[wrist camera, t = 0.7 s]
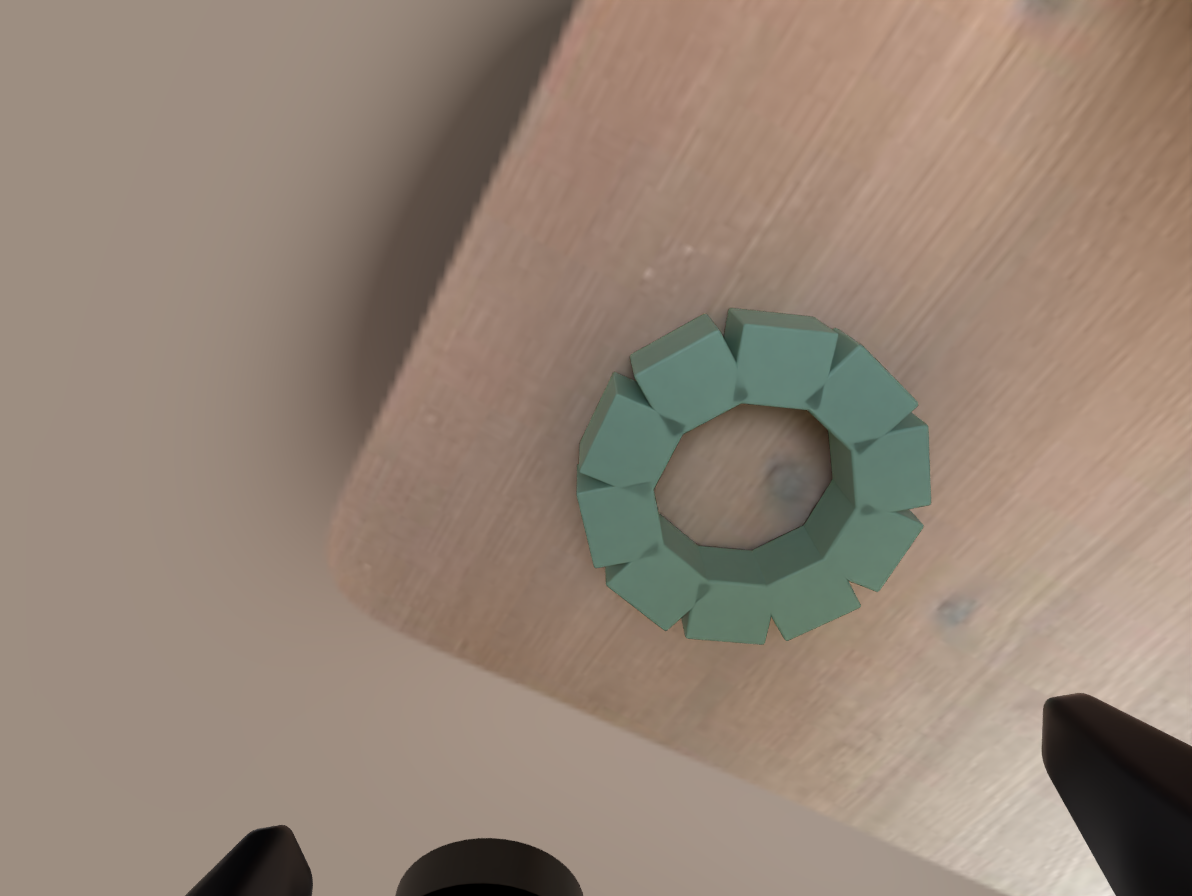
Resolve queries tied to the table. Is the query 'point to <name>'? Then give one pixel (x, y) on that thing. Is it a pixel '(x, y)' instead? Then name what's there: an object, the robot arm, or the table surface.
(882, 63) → the table surface
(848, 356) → the ring
